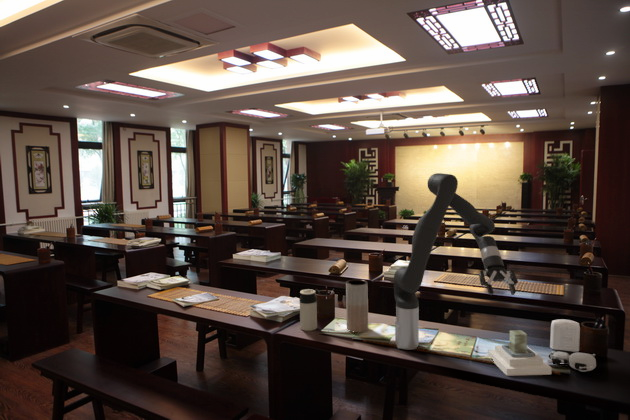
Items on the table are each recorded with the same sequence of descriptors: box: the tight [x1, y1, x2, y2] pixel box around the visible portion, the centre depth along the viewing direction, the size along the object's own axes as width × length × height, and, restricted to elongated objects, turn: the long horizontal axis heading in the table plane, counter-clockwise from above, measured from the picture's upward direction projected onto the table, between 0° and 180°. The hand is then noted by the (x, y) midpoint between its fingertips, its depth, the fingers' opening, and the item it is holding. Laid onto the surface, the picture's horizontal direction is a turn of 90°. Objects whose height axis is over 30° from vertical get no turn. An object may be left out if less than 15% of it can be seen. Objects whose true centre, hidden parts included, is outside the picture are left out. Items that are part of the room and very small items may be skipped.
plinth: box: [487, 344, 552, 377], centre depth 155 cm, size 16×16×6 cm
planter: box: [345, 278, 369, 333], centre depth 194 cm, size 10×10×23 cm
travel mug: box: [299, 288, 318, 332], centre depth 197 cm, size 8×8×18 cm
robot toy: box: [546, 350, 597, 373], centre depth 154 cm, size 12×4×15 cm
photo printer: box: [549, 318, 581, 353], centre depth 167 cm, size 10×4×12 cm, turn 72°
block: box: [508, 329, 528, 354], centre depth 155 cm, size 4×4×8 cm
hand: (502, 294), depth 165 cm, fingers open, 8 cm apart
